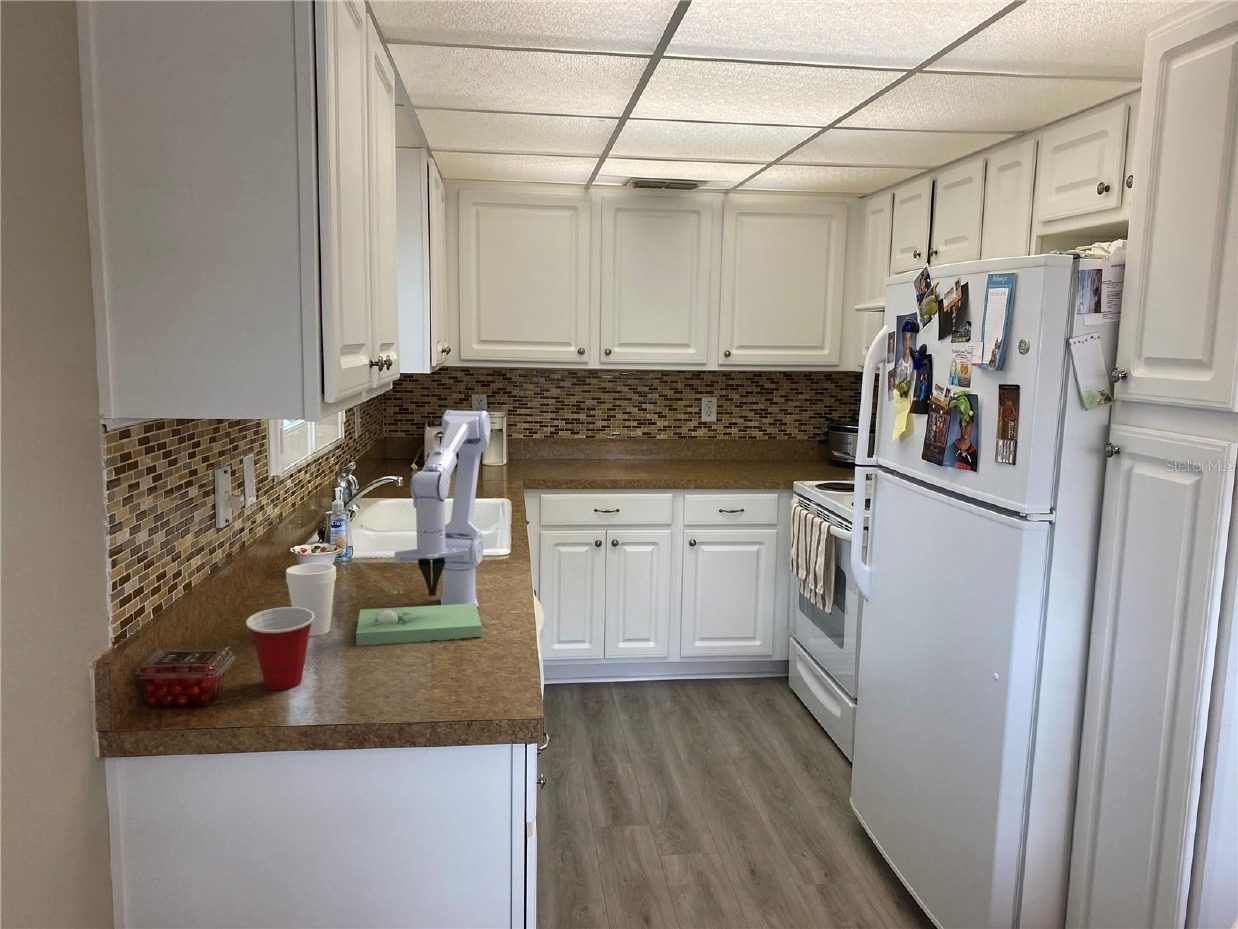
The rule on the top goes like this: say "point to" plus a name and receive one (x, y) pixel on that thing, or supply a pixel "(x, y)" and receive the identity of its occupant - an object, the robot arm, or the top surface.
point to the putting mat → (419, 624)
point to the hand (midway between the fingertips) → (432, 594)
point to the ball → (387, 617)
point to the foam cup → (313, 592)
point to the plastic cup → (281, 644)
